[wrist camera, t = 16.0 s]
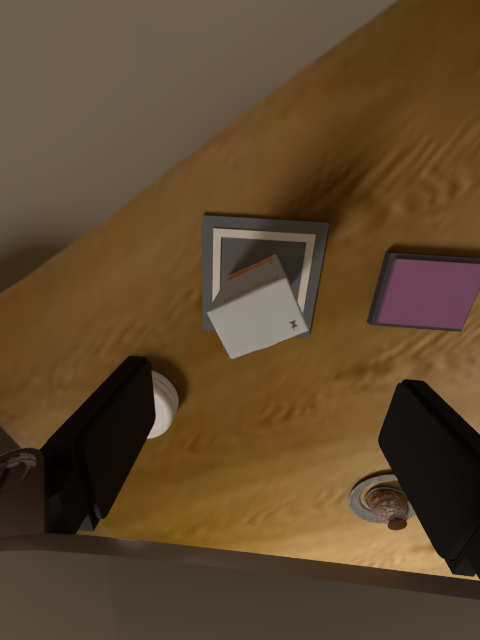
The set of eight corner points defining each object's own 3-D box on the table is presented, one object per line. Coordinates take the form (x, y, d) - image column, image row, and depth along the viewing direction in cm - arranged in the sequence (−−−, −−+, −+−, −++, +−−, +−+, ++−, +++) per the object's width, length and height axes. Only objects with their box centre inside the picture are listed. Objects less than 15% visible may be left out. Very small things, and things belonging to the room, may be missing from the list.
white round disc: (102, 402, 37) (87, 419, 33) (126, 353, 33) (112, 367, 30) (162, 431, 38) (153, 451, 35) (191, 388, 35) (185, 405, 31)
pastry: (376, 457, 38) (392, 488, 33) (440, 485, 39) (462, 517, 35) (332, 500, 42) (340, 532, 38) (390, 524, 43) (404, 557, 39)
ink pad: (483, 257, 26) (496, 260, 24) (454, 328, 29) (464, 333, 27) (385, 251, 26) (393, 253, 25) (367, 321, 29) (372, 326, 28)
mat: (328, 222, 25) (330, 222, 25) (308, 336, 30) (309, 338, 30) (203, 215, 26) (201, 215, 25) (203, 328, 31) (202, 330, 30)
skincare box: (275, 251, 26) (289, 274, 15) (290, 287, 28) (312, 332, 17) (225, 275, 28) (203, 312, 16) (241, 308, 29) (231, 362, 18)
